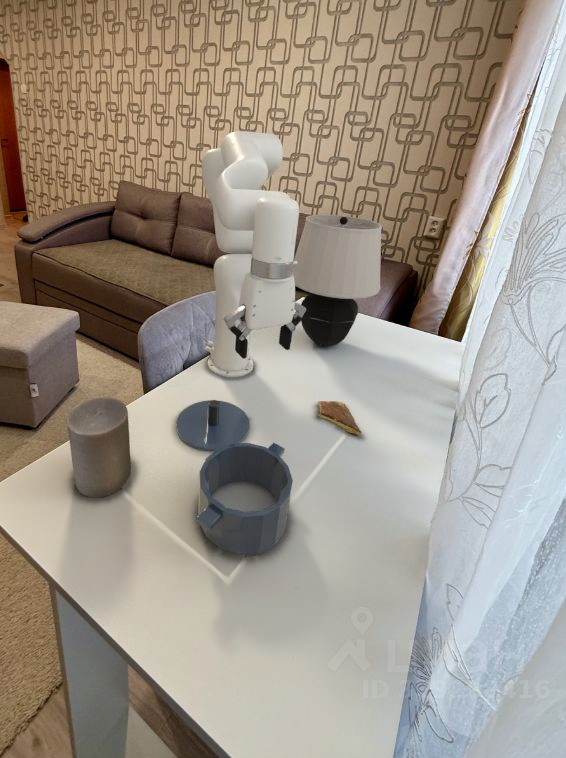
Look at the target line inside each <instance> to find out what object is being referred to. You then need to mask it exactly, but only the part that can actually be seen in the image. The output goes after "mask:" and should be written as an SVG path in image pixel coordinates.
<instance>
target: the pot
mask: <svg viewBox="0 0 566 758" xmlns="http://www.w3.org/2000/svg"><path fill="white" fill-rule="evenodd" d="M285 450H286V448H285V447H283V446H281V445H280V444H277V443H275V442H272V444H270V445H269V446H268V447H266V446H263V445H259V444H255V443H251V442H241V443H235V444H230V445H227V446H224V447H221V448H218V449H217V450H215V451H212V453H210V454H209V455H208V456H207V457H206V458H205V459H204V461H203V463H202V465H201V467H200V470H199V473H198V474H199V477H198V482H199V483H198V506H197V507H198V509H197V510H198V515H197V516H196V523H198V524H199V526H200V528H201V529H202V532H203V533H204V535H205V537H206V538H207V540H208V541H210V543H212V544H214V545H215V546H216V547H217V548H219V549H220V550H222V551H225V552H229V553H232V554H235V555H240V556H242V555H244V557H254V556H257V555H261V554H263V553H265V552H267V551H269V550H271V549H273V548H274V547H275V545H277V543H278V542H279V541H280V540H281V538H282V537H283V535H284V533H285V531H286V527H287V520H288V515H289V508H290V501H291V495H292V488H293V481H294V480H293V477H292V473H291V470H290V466H289V465H288V463H286V461H285V460H284V459H283V458H282V456H283V455H284V454H285ZM238 481H240V482H241V481H245V482H247V481H248V482H250V483H254V484H258V485H260V486H262V487H264V488H265V489H266V490H267V491H269V492H271V494H272V495H273V496H274V498H275V499H276V500H277V502H276V503H274V504H273V505H270V506H268V507H266V508H263V509H262V510H252V511H241V510H238V509H234V508H230V507H226V506H225V505H224V504H223V503H221V502H220V501H218V500H217V499H215V498H214V497H213V496H212V493H213V492H214V491H216V489H218V487H220V486H223V485H226V484H227V483H230V482H238Z"/></svg>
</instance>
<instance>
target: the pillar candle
mask: <svg viewBox="0 0 566 758" xmlns="http://www.w3.org/2000/svg"><path fill="white" fill-rule="evenodd" d="M66 418H67V419H66V426H67V433H68V439H69V448H70V456H71V463H72V470H73V471H72V472H73V477H74V478H73V479H74V485H75V487H76V489H77V491H78V492H79V493H80V494H81V495H83V496H85V497H88V498H103V497H108V496H110V495H113V494H115V493H117V492H119V491H120V490H122V488H123V487H124V485H125V484H126V483H127V482H128V480H129V478H130V476H131V472H132V471H131V470H132V469H131V468H132V466H131V444H130V443H131V441H130V425H129V411H128V407H127V406H126V404H125V403H124V402H122V401H121V400H119V399H117V398H113V397H97V398H91V399H88V400H85V401H83V402H81V403H77V404H76V405H75V406H73V408H71V410H70V411H69V414H68V415H67V416H66Z"/></svg>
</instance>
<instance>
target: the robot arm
mask: <svg viewBox="0 0 566 758" xmlns="http://www.w3.org/2000/svg"><path fill="white" fill-rule="evenodd" d="M283 158H284V149H283V144H282V141H281V140H280V138H279V137H278V136H276V134H274V133H268V132H257V131H245V130H236V131H233V132H230V133H228V134H227V135H225V136H224V138H223V139H222V141H221V144H220V147H217V148H212V149H209V150H207V151H206V152H204V154H203V156H202V159H201V160H202V161H201V177H202V181H203V186H204V189H205V191H206V194H207V196H208V199H209V200H210V201H209V202H210V203H211V207H212V212H213V223H214V232H215V240H216V245H217V248H218V249H219V250H220V251H221V252H223V253H227V254H224V255H221V256H219V257H218V258H217V259H216V260H215V262H214V264H213V279H214V288H215V315H214V316H215V317H214V337H213V339H214V340H213V341H212V340H208V341H207V343H206V346H204V351H205V352H207V353H210V356H209V357H208V359H207V367H208V369H210V371H211V372H213V373H214V374H216V375H219V376H223V377H227V378H229V377H230V378H235V377H242V376H246V375H247V374H249V373H251V372H252V371H253V369H254V361H253V359H252V357H250V355H249V354H250V341H251V332H252V331H253V330H262V329H268V328H274V327H279V326H280V328H279V336H278V337H279V338H278V344H279V346H281V347H282V348H283V349H284V350H286V351H289V350H291V344H292V338H293V332H295V331H296V330H297V327H298V325H299V324H300V323H301V317H303V315H304V313H305V311H306V308H305V307H304V306H302V305H301V303H298V302H296V286H295V282H294V276H293V275H292V270H293V267H297V265H298V263H297V260H294V259H295V251H296V250H295V249H296V242H297V241H296V240H297V233H298V226H299V225H298V224H299V216H300V206H299V205H300V204H299V203H298V201H297V200H295V199H293V198H291V197H290V195H289V194H288V193H286V192H284V191H279V190H263V189H261V188H262V187H263V186H264V185H265V184H266V182H267V180H269V179H270V178H271V177H272V176H273V175H274V174H275V173H276V172H278V170H279V169H280V167H281V166H282V163H283Z"/></svg>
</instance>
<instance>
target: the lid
mask: <svg viewBox="0 0 566 758" xmlns="http://www.w3.org/2000/svg"><path fill="white" fill-rule="evenodd" d="M250 426H251V425H250V419H249V417H248V415H247V414H246V413H245V411H244V410H243V409H242V408H240V407H239V406H237V405H235V404H234V403H231V402H228V401H223V400H217V399H210V400H201V401H198V402H195V403H193V404H190V405H189V406H187V407H185V408H184V409H183V410H182V411H181V412H180V413H179V414H178V417H177V419H176V423H175V428H176V433H177V434H178V437H179V438H180V439H181V440H182V441H183V442H184V443H185V444H187V445H188V446H190V447H192V448H195V449H197V450H201V451H208V452H214V451H215V450H217V449H218V448H221V447H224V446H227V445H230V444H235V443H243V441H244V440H245V439H246V438H247V436H248V435H249V432H250Z"/></svg>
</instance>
